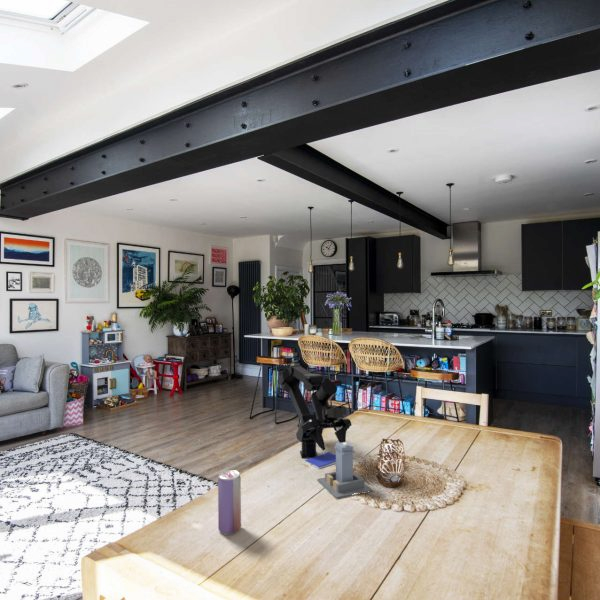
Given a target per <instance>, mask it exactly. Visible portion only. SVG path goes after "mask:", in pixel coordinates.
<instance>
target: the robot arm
mask: <svg viewBox="0 0 600 600" xmlns="http://www.w3.org/2000/svg"><path fill="white" fill-rule="evenodd" d="M278 383H279V385H280V387H281V389H282V390H283V391H284V392H286V393H287V394H289V397H290V400H291V402H292V404H293V407H294V409H295V411H296V414H297V415H298V418H299V420H300V421H299V424H298V425H299V426H298V430H297V431H296V433H295V434H296V435H295V436H296V439H297V441H299V442H300V443H301V450H299V454H300V457H301V458H302V459H306V458H307V459H309V458H313V457H316V456H319V454H318V452H317V446H318V447H319V448H320V449H321V450H322V451H325V450H326V445H325V440H324V437H323V431H324V430H323V429H333V430H334V431H335V432H334V435H335V437H336V438H337V441H338V443H342V442H347V441H346V440H347V439H346V438H347V431H348V430H349V429H350V428H351V427H352V426H353V424H352V422H351V419H350V418H346V417H345V416H346V415H347V414H348V412H347V408H346V405H339V406H338V407H334V406H332V405H330V402H329V401H330V400H331V399H332V398H333V397H334V396H335V395H336V393H337V392H338V386H337V385H336V383H335V382H334V381H332V380H330V378H329V377H324V376H323V375H322V374H319V373H312V372H310V371H309V370H308V369H305V368H304V367H302V365H300V364H294V365H293V364H291V365H290V366H289V367H287V369H285V370H284V371H283V372H281V373H280V375H279V378H278ZM301 383H303V388H304V389H305V390H306V392H313V393H311V394H310V396H309V401H310V402H312V407H313V410H314V411H313V412H312V413H311V411H310V409H309V407H308V404H307V402H306V400H305V398H304V395H303V392H302V391H301V389H300V384H301ZM339 418H340V419H339Z"/></svg>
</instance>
